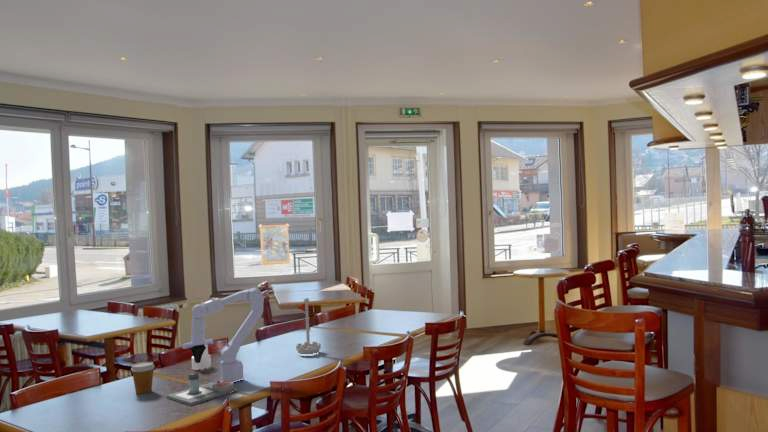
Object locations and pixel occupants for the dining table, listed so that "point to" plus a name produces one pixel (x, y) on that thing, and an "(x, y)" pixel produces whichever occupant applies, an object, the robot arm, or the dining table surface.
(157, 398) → the dining table surface
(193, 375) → the salt shaker
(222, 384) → the button
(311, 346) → the flag stand
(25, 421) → the dining table surface
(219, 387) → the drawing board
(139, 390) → the disposable coffee cup
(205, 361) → the base with upright slab
